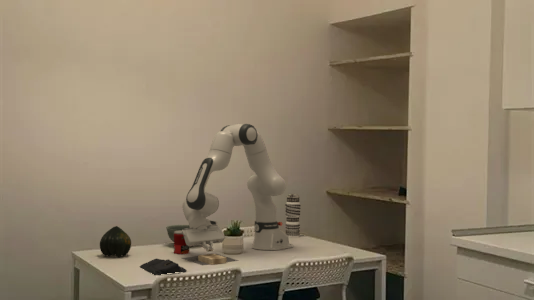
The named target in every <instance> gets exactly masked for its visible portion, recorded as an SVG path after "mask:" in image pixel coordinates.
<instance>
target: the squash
mask: <svg viewBox="0 0 534 300" xmlns="http://www.w3.org/2000/svg"><path fill="white" fill-rule="evenodd" d="M99 248H100V249H99V250H100V252H101V254H102V255H103V256H105V257H112V256H116V258H121V257H124V256H126V255H128V253H130V250H131V248H132V240H131V237H130V236H129V234H128V233H127V232H125V231H124V230H123V229H122V228H121V227H120V226H118V225H115V226H113V227H111V228H110V229H109V230H107V231H106V232H105V233H104V234H103V236H102V237H101V239H100V241H99Z"/></svg>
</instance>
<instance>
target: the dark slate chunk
mask: <svg viewBox="0 0 534 300" xmlns="http://www.w3.org/2000/svg"><path fill="white" fill-rule="evenodd" d="M139 268H140V269H142V270H143V269H144V271H145V272H147V273H149V274H151V273H152V274H151V275H153V274H154V275H153V276H162V275H161V274H167V273H175V272H183V273H187V272H188V271H187V269H186V268H184V267H182V266H180V265H179V263H177V262H174V261H173V260H170V259H169V258H168V259H160V258H153V259H151V260H149V261H148V262H144V263H142V264H140V266H139Z"/></svg>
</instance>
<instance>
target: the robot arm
mask: <svg viewBox="0 0 534 300" xmlns="http://www.w3.org/2000/svg"><path fill="white" fill-rule="evenodd" d="M241 146H242V147H243V150H244V152H245V156H246V158H247V159H246V160H247V162H248V165H249V168H250V170H251V171H253V172H254V173H255V174H252V175H251V176H250V177H248V179H247V182H246V185H247V189H248V190H249V192H250V193H251V195H252V198H253V203H254V206H255V207H254V208H255V211H254V212H255V220H254V238H253V243H252V246H251V248H252V249H255V250H261V251H262V250H264V251H279V250H284V249H290V248H294V244H292V243H290V237H288V236H287V234H285V233H286V232H284V231H283V230H282V229H281V228H279V227H282V226H283V225H284V224H283V222H282V221H277V205H276V204H275V203H274V201H273V199H272V197H278V196H282V195H283V194H284V193H285V192H286V189H287V183H286V180H285V179H284V178H283V177H282V176H281V175H280V174H279V173H278V172H277V170H276V168H275V167H274V165H273V164H272V162H271V159H270V156H269V153H268V150H267V147H266V144H265V142H264V139H263V137H262V135H261V134H260V132H259V131H257V128H255V126H254V125H252V124H250V123H237V124H236V123H235V124H230V125H226V126H223V127H222V128H221V129H220V130H219V131H218V132H216V133H215V134H214V137H213V140H212V142H211V143H210V147H209V151H208V154H207V156H206V157H205V158H204V159H203V160H202V162H201V164H200V166H199V168H198V170H197V173H196V175H195V178H194V181H193V183H192V185H191V187H190V189H189V191H188V193H187V194H186V197H185V199H184V201H183V202H182V207H181V208H182V212H183V215H184V217H185V219H186V221H187V222H188V225H189V226H190V228H184V229H183V230H182V233H183V235H184V239H185V242H186V245H188V246H189V247H193V246H202V248H204V249H205V250H206V252H213V251H214V247H213V245H215V244H221V243H223V242H224V241H225V238H226V237H225V234H224V231H223V230H222V228H221V227H220V226H219V223H218V221H215V220H211V219H207V217H210V216H211V215H213V214H214V213H216V212H217V211H218V209H219V206H220V201H219V198H218V197H217V196H215V195H214V194H212V193H209V192H207V191H206V187H207V184H208V181H209V179H210V176H211V174H212V173H214V172H216V171H217V172H218V171H222V170H225V169H226V168H227V167H228V166H229V164H230V161H231V157H232V153H233V149H234V147H241Z"/></svg>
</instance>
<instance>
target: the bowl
mask: <svg viewBox="0 0 534 300" xmlns="http://www.w3.org/2000/svg"><path fill="white" fill-rule="evenodd" d="M184 228H190V226H189V224H176V225H175V224H174V225H167V226H166V231H167V236H168V238H169V239H170V240H171V241H172V242H173V243H174V232H175V231H182V230H183V229H184Z"/></svg>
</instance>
